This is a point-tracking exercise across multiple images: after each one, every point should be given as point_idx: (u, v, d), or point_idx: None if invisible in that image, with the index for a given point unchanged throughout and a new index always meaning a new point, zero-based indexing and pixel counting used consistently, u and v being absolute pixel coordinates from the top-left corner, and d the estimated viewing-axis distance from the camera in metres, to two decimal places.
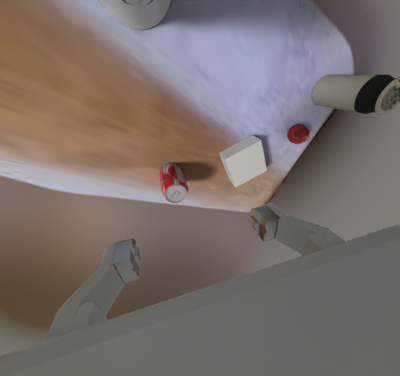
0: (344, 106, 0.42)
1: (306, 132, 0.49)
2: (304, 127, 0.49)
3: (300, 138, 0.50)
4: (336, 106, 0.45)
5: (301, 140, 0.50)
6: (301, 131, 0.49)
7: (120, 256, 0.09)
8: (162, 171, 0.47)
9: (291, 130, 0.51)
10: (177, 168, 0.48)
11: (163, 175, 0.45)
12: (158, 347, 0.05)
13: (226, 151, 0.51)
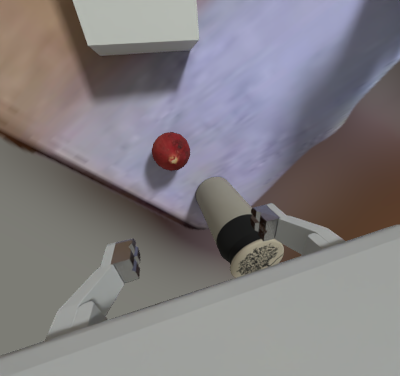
0: (226, 208, 0.25)
1: (183, 159, 0.24)
2: (188, 158, 0.25)
3: (174, 148, 0.23)
4: (216, 202, 0.27)
5: (167, 150, 0.23)
6: (185, 150, 0.24)
7: (120, 256, 0.09)
8: None
9: None
10: None
11: None
12: (158, 347, 0.05)
13: None
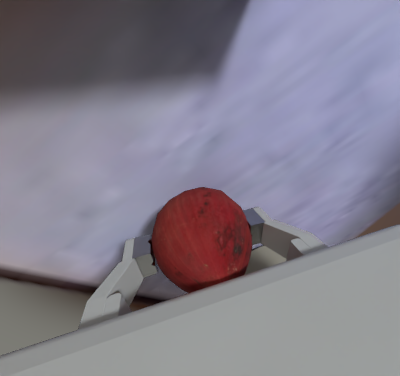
0: None
1: None
2: None
3: (224, 259, 0.07)
4: None
5: (203, 268, 0.07)
6: (249, 249, 0.08)
7: (140, 251, 0.09)
8: None
9: (231, 199, 0.10)
10: None
11: None
12: (158, 347, 0.05)
13: None
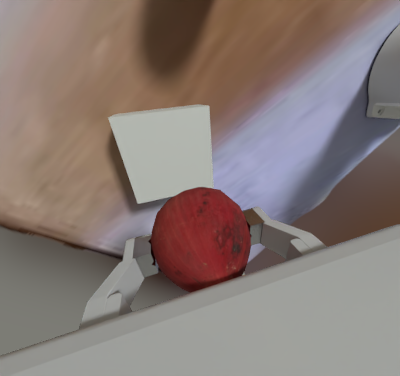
0: None
1: (242, 274, 0.08)
2: None
3: (223, 258, 0.07)
4: None
5: (202, 267, 0.07)
6: (248, 248, 0.08)
7: (141, 250, 0.09)
8: None
9: None
10: None
11: None
12: (158, 347, 0.05)
13: None
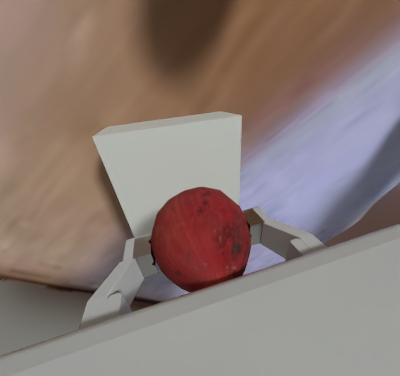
0: None
1: (242, 274, 0.08)
2: None
3: (223, 258, 0.07)
4: None
5: (202, 267, 0.07)
6: (248, 248, 0.08)
7: (141, 250, 0.09)
8: None
9: (230, 199, 0.10)
10: None
11: None
12: (158, 347, 0.05)
13: None
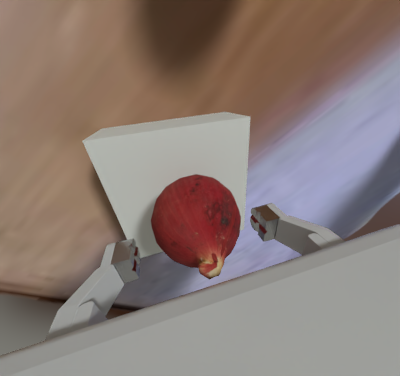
0: None
1: (232, 248, 0.09)
2: None
3: (212, 228, 0.08)
4: None
5: (194, 236, 0.08)
6: (237, 224, 0.09)
7: (120, 256, 0.09)
8: None
9: (222, 184, 0.11)
10: None
11: None
12: (158, 347, 0.05)
13: None
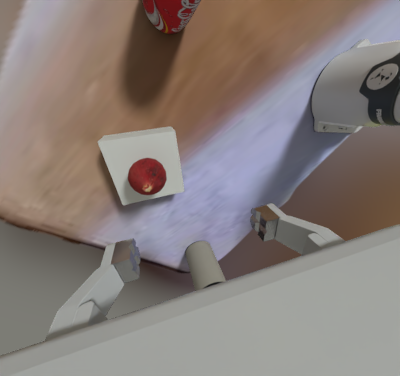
0: (203, 276, 0.39)
1: (158, 185, 0.24)
2: (164, 183, 0.26)
3: (148, 176, 0.23)
4: (198, 268, 0.41)
5: (141, 178, 0.23)
6: (160, 176, 0.24)
7: (120, 256, 0.09)
8: None
9: (158, 162, 0.26)
10: (187, 22, 0.23)
11: None
12: (158, 347, 0.05)
13: None
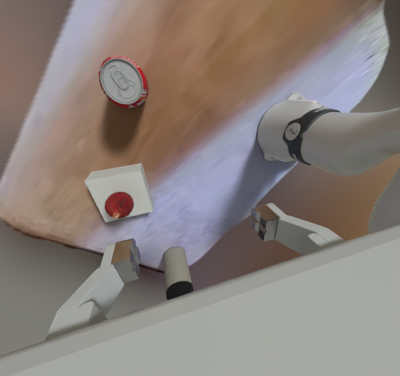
0: (172, 276, 0.49)
1: (125, 212, 0.34)
2: (130, 210, 0.36)
3: (116, 207, 0.33)
4: (169, 269, 0.52)
5: (112, 209, 0.33)
6: (126, 206, 0.35)
7: (120, 256, 0.09)
8: None
9: (127, 194, 0.36)
10: None
11: None
12: (158, 347, 0.05)
13: (143, 172, 0.42)
